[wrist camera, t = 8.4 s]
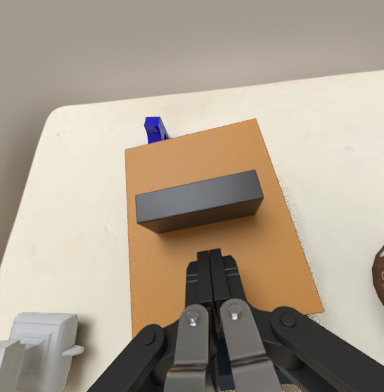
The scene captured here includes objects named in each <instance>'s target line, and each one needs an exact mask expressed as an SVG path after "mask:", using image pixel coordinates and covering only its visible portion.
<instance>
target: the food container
mask: <svg viewBox="0 0 384 392" xmlns="http://www.w3.org/2000/svg"><path fill="white" fill-rule="evenodd" d="M372 275H373V285H374V287H375V290H376V292H377V295H378V297H379V299H380V300H381V302H382V304H383V305H384V246H383V247H382V248H381V250H380V251H379V252H378V253H377V254H376V256H375V260H374V263H373V267H372Z"/></svg>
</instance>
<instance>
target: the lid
mask: <svg viewBox="0 0 384 392" xmlns="http://www.w3.org/2000/svg"><path fill="white" fill-rule="evenodd" d="M125 168H126V193H127V218H128V243H129V268H130V293H131V318H132V339H133V338H134V337H135V336H136V335H137V334H138V333H139V331H140V330H141V329H142V328H144V327H145V326H147V325H149V324H158V325H160V326H161V327H162V328H164V327H166V326H168V325H170V324H172V323H173V322H175V321H176V320H178V319H179V318H180V315H181V313H182V311H183V310H184V308H185V289H186V268H187V267H188V265H189V263H190V262H192V261H197V252H200V251H205V250H208V251H209V250H211V249H217V248H221V253H222V256H227V255H231V256H232V257H233V258H234V259H235V260H236V263H237V267H238V271H239V274H240V278H241V281H242V285H243V289H244V292H245V296H246V299H247V301H248V302H249V303H250V304H251V305H252V306H253V307H255V308H257V309H259V310H263V311H269V312H272V311H273V310H274V309H275V308H277V307H280V306H288V307H291V308H294V309H296V310H297V311H299V312H300V313H302V314H304V315H309V314H316V313H322V312H324V308H323V306H322V303H321V300H320V297H319V294H318V291H317V289H316V286H315V283H314V280H313V277H312V275H311V272H310V269H309V266H308V263H307V261H306V258H305V255H304V252H303V249H302V247H301V244H300V241H299V238H298V235H297V232H296V230H295V227H294V224H293V221H292V218H291V216H290V213H289V210H288V207H287V204H286V202H285V199H284V196H283V193H282V190H281V188H280V185H279V182H278V179H277V176H276V173H275V171H274V168H273V165H272V162H271V159H270V157H269V154H268V151H267V148H266V145H265V143H264V140H263V137H262V134H261V131H260V129H259V126H258V123H257V120H256V118H255V119H251V120H247V121H242V122H238V123H234V124H230V125H226V126H222V127H217V128H213V129H209V130H205V131H201V132H197V133H192V134H188V135H184V136H180V137H176V138H172V139H167V140H163V141H159V142H155V143H151V144H147V145H142V146H138V147H134V148H130V149H126V150H125ZM220 327H221V324H220Z"/></svg>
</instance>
